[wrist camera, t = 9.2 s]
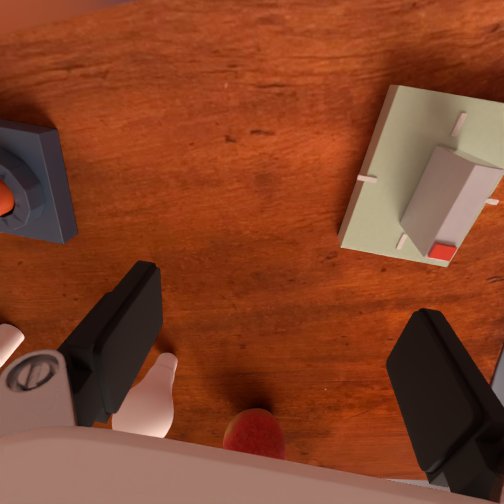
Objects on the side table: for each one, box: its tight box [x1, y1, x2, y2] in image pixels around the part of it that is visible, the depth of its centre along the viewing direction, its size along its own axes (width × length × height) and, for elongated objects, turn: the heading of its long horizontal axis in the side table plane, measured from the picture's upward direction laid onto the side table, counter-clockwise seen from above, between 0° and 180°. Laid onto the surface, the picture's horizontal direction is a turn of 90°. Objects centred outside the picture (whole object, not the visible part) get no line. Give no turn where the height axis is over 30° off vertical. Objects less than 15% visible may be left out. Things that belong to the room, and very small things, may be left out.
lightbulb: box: [112, 353, 178, 438], centre depth 33 cm, size 6×6×11 cm
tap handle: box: [400, 146, 504, 262], centre depth 19 cm, size 6×2×5 cm, turn 172°
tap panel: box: [338, 84, 504, 267], centre depth 22 cm, size 12×10×2 cm
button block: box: [0, 119, 78, 244], centre depth 25 cm, size 10×8×4 cm
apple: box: [223, 408, 286, 460], centre depth 38 cm, size 8×8×10 cm
